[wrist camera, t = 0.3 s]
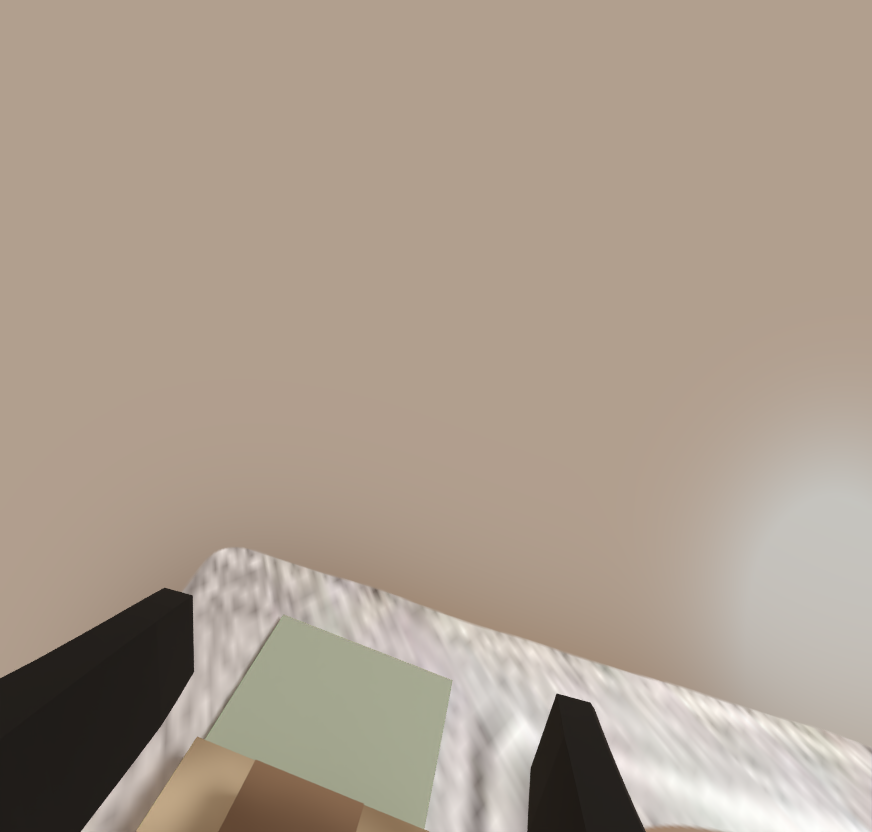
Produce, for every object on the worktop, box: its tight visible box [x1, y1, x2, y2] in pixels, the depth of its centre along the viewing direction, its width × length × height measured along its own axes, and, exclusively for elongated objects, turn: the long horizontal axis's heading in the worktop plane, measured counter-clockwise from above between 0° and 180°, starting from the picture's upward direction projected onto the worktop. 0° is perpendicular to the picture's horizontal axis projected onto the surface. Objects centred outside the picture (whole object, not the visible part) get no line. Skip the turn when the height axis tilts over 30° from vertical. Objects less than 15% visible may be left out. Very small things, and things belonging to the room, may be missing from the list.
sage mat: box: [205, 615, 452, 829], centre depth 29 cm, size 9×12×1 cm
